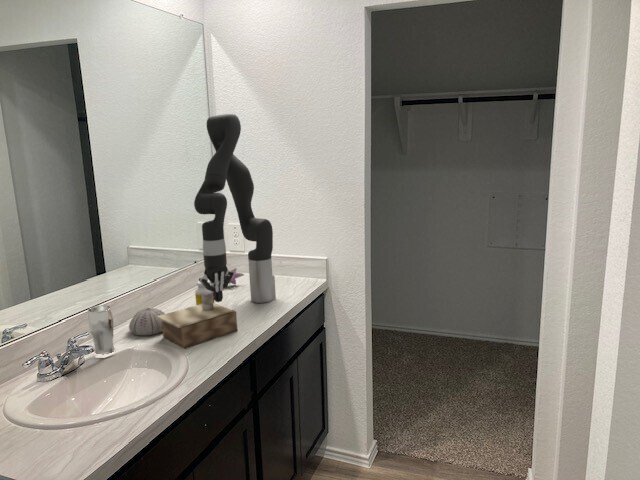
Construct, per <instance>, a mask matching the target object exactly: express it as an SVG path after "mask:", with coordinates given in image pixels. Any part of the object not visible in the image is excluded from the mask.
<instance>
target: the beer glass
mask: <svg viewBox="0 0 640 480" xmlns="http://www.w3.org/2000/svg"><path fill="white" fill-rule="evenodd" d="M87 322H88V323H87V324H88V329H89V333H90V336H91V339H92V342H93V344H94V353H96V354H102V355H104V354H109V353H112V352H114V350H115V351H116V348H115V346H114V338H113V337H114V317H113V311H112V307H111V306H110V305H108V304H105V305H103V304H101V305H96V306H95V305H94V306H92V307H90V308H88V309H87Z"/></svg>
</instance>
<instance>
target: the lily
mask: <svg viewBox="0 0 640 480" xmlns="http://www.w3.org/2000/svg"><path fill="white" fill-rule="evenodd" d="M237 269H238V268H233V269H232V270H229V269H228V271H230V272H233V273H234V274H233V276H232V278H231V280H230V282H229V284H228V285H229V288H230V290H232V287H231V284H232V285H234V284H236V285H237V279H239V278H241V277H243V276H245V274H244V273H242V272H237Z"/></svg>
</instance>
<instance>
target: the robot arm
mask: <svg viewBox="0 0 640 480" xmlns="http://www.w3.org/2000/svg"><path fill="white" fill-rule="evenodd" d="M241 127H242V124H241V121H240V119H239V117H238V116H237V115H236V114H235V113H233V112H232V113H230V112H229V113H222V114H217V115H213V116H209V117H208V118H207V120H206V130H207V134H208V136H209V140H210V141H211V144H212V146H213V149H214V150H215V153H214V155H213V156H212V157H211V159H210V160H209V161H208V163H207V167H206V172H205V176H204V180H203V182H202V184H201V186H200V187H199V189H198V192H197V193H196V195H195V197H194V202H193V206H194V209H195V212H197V213H198V214H200V215H214V219H212V220H208V221H205V222H203V223H202V225H201V233H202V252H203V253H202V254H203V266H204V271H203V273H204V274H203V276H202V277H199V279H198V281H200V282H201V283H202V284H203V285H204V287H205V288H206V289H207V290H210V291H212V292H213V298H214V302H215V303H220V302H223V300H224V297H223V296H224V295H223V290H224V289H227V288H228V285H230V284H229V282H230V280H231V278H232V276H233V274H234V273H233V272H230V271H231V270H229V269H228V267H227V265H228V263H227V261H228V260H227V249H226V247H227V245H226V241H225V232H224V230H225V229H224V223H225V219H226V218H225V217H226V211H227V208H228V199H227V197H226V195H225V194H223V193H221V192H222V191H223V190H224V189H225V187H226V183H227V186H228V188H229V191H230V194H231V196H232V200H233V203H234V206H235V210H236V212H237V217H238V221H239V225H240V230H241V232H242V235H243V237H244V239H246V240H247V241H250V242H256V243H255V248H254V249H252V250H250V251H248V253H247V258H248V259H247V260H248V273H249V275H248V276H249V288H250V289H249V291H250V301H251V302H252V303H257V304H258V303H259V304H260V303H261V304H262V303H263V304H264V303H269V302H272V301H273V300H275V299H276V298H277V297H276V296H277V295H276V294H277V293H276V280H275V279H276V277H275V275H274V274H273V261H272V260H273V258H272V252H273V247H274V244H273V243H274V240H273V237H274V236H273V235H274V233H273V225H272V223H271V221H270V220H269V219H266V218H257V217H255V215H254V214H255V213H254V211H253V208H252V200H253V196H254V190H255V185H254V182H253V178H252V175H251V173H250V170H249V168H248V167H247V166H246V165H245V164H244V162H243V161H241V160H240V159H239V158H238V157H237V156H236V155H235V153H234V152H235V150H236V148H237V144H238V142H239V139H240V135H241V131H242V128H241ZM228 270H229V271H228ZM208 280H209V281H210V284H209V283H208Z"/></svg>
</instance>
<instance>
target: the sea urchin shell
mask: <svg viewBox="0 0 640 480" xmlns="http://www.w3.org/2000/svg"><path fill="white" fill-rule="evenodd" d="M164 314H166V313H165V312H164V311H162V310H161V309H159V308H156V307H147V308H143V309H140V310H138V311H137V312H136V313H135V314H134V315H133V317H132V318H131V321H130V322H129V324H128V329H129V331H130V332H131V334H133V335H135V336H151V335H157V334H160V333H161V332H162V333H163V328H162V320H160V319H158V318H157V316H160V315H164Z"/></svg>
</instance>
